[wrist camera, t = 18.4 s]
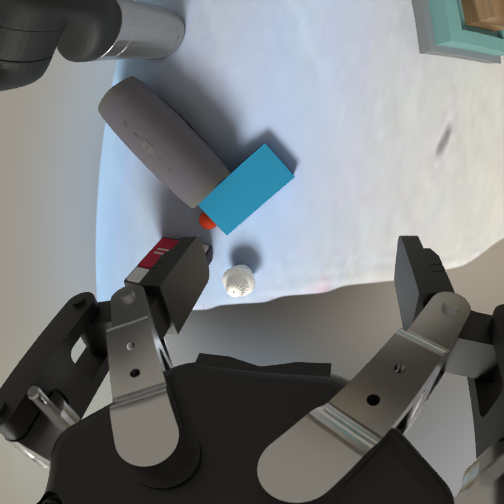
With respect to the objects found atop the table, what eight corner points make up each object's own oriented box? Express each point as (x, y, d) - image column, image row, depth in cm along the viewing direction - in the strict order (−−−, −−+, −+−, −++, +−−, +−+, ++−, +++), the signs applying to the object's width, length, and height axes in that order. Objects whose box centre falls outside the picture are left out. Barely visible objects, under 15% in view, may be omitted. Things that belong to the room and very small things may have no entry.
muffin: (234, 252, 60) (223, 273, 54) (263, 266, 60) (255, 289, 54) (224, 275, 63) (212, 297, 58) (251, 288, 64) (242, 311, 58)
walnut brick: (465, 25, 23) (495, 16, 16) (459, -6, 21) (487, -21, 14) (493, 31, 22) (527, 26, 15) (487, 1, 20) (519, -10, 12)
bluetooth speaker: (121, 111, 50) (86, 121, 41) (150, 72, 45) (115, 75, 37) (204, 196, 55) (181, 220, 47) (240, 163, 50) (221, 182, 42)
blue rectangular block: (264, 142, 52) (190, 209, 57) (265, 143, 46) (181, 219, 51) (290, 171, 54) (216, 236, 59) (294, 176, 48) (210, 249, 52)
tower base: (419, 53, 34) (444, 47, 25) (408, -17, 28) (427, -39, 19) (486, 63, 31) (522, 64, 22) (476, -5, 25) (507, -18, 16)
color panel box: (212, 242, 60) (180, 291, 48) (213, 261, 62) (183, 311, 50) (161, 234, 62) (121, 277, 49) (163, 253, 64) (126, 297, 52)
